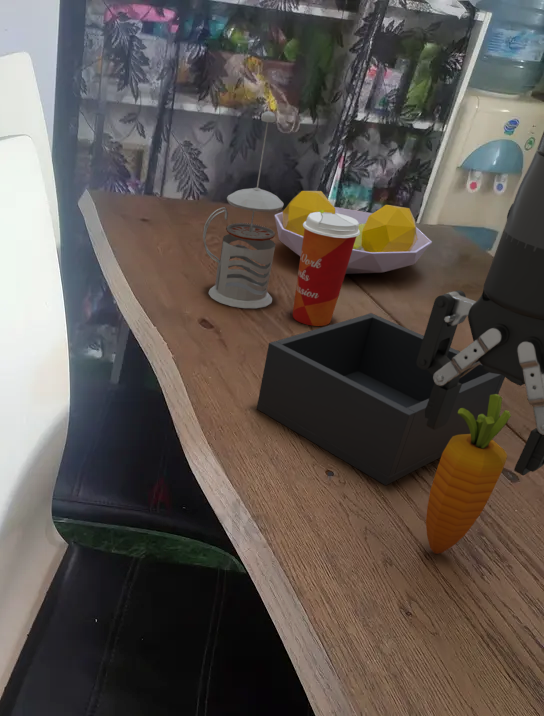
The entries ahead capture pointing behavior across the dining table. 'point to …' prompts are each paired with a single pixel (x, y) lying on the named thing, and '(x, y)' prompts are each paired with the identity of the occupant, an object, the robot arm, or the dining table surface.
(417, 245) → the fruit bowl
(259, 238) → the french press
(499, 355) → the robot arm
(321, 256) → the paper cup
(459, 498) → the carrot
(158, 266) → the dining table surface
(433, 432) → the open dark gray box
